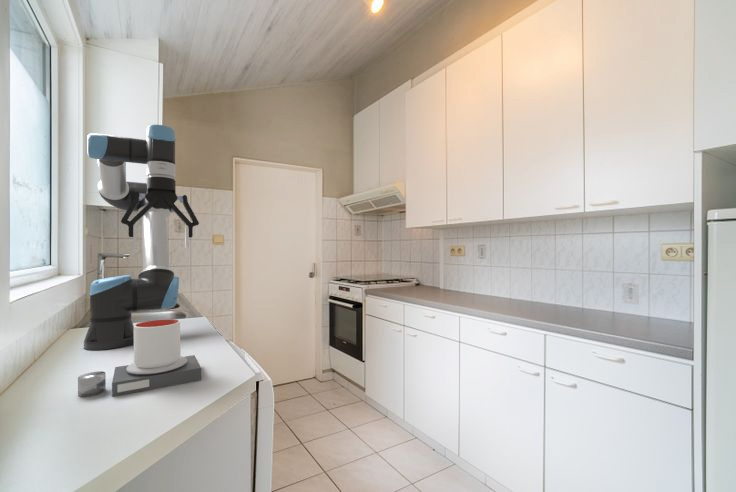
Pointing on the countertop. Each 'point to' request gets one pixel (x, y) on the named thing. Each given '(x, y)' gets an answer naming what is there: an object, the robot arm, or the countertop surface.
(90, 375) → the cylinder
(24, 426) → the countertop surface
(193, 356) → the scale
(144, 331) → the cup
